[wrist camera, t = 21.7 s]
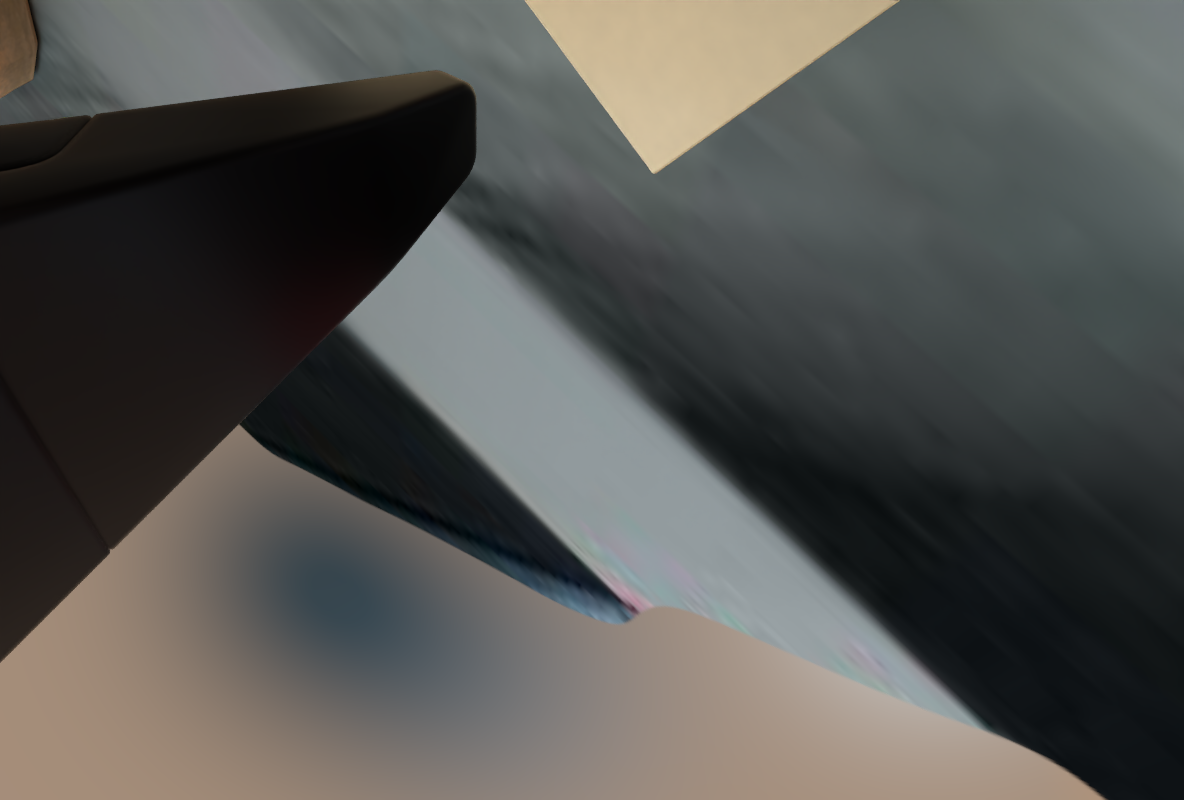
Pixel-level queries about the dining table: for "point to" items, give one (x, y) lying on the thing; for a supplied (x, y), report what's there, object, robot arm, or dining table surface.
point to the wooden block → (693, 58)
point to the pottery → (16, 45)
